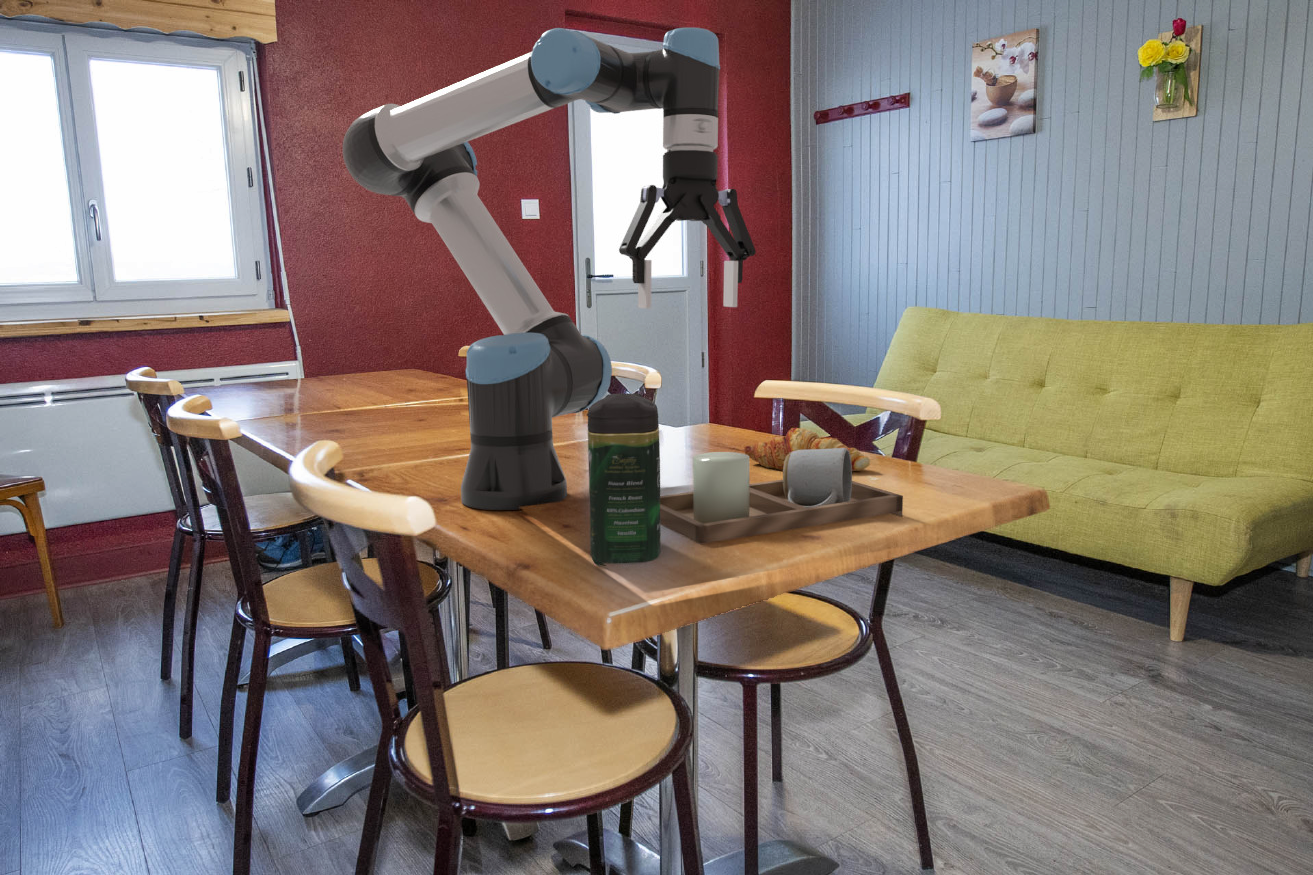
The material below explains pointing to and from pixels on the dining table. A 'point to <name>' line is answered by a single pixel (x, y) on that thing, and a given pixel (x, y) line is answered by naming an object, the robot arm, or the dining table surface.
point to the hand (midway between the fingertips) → (688, 307)
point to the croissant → (795, 440)
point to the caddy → (774, 512)
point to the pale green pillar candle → (721, 486)
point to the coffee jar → (624, 479)
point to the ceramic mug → (818, 476)
